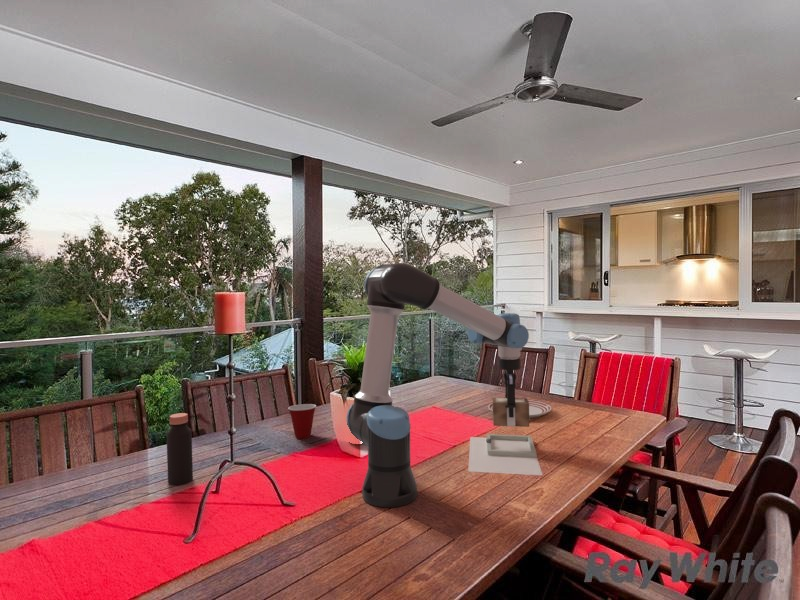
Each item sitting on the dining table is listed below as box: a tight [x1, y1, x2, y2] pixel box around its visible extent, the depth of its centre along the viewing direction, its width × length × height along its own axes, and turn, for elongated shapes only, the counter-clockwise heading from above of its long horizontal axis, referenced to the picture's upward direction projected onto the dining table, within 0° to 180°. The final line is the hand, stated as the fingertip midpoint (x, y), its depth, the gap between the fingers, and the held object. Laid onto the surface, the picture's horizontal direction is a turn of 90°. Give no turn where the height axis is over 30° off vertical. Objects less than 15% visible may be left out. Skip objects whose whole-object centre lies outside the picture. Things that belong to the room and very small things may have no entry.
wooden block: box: [492, 397, 530, 428], centre depth 160 cm, size 12×7×8 cm, turn 80°
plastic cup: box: [287, 403, 317, 440], centre depth 176 cm, size 11×11×12 cm
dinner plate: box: [487, 399, 553, 419], centre depth 204 cm, size 27×27×3 cm
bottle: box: [166, 412, 194, 487], centre depth 137 cm, size 7×7×20 cm
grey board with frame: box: [467, 433, 543, 476], centre depth 154 cm, size 22×32×3 cm
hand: (510, 422), depth 160 cm, fingers closed on wooden block, 7 cm apart
